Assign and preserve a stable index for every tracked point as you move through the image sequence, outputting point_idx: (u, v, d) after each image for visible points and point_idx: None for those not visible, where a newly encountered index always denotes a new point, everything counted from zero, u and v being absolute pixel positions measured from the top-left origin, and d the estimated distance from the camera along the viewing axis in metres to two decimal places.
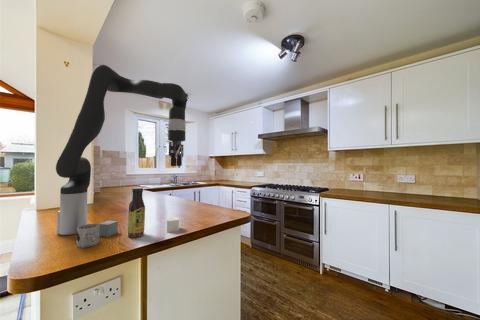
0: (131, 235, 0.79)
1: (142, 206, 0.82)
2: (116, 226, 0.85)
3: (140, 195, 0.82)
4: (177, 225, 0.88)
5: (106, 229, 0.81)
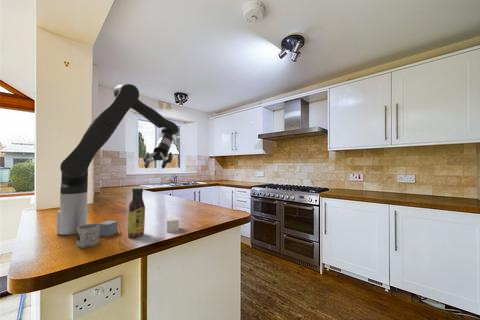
0: (131, 235, 0.79)
1: (142, 206, 0.82)
2: (116, 226, 0.85)
3: (140, 195, 0.82)
4: (177, 225, 0.88)
5: (106, 229, 0.81)
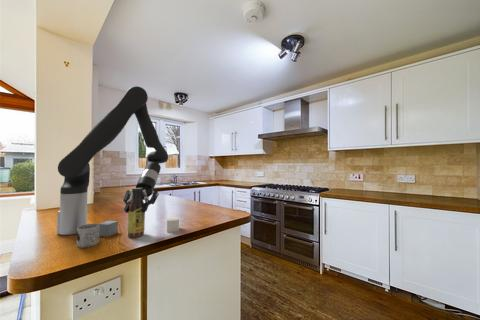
0: (131, 235, 0.79)
1: (142, 206, 0.82)
2: (116, 226, 0.85)
3: (140, 195, 0.82)
4: (177, 225, 0.88)
5: (106, 229, 0.81)
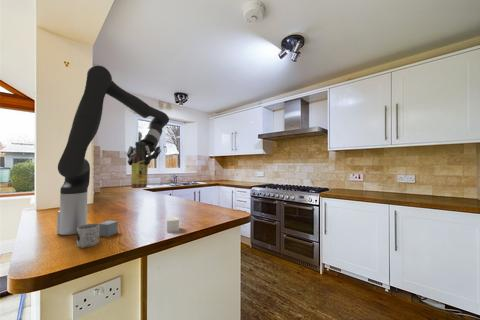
0: (134, 186, 0.82)
1: (145, 159, 0.84)
2: (116, 226, 0.85)
3: (143, 149, 0.85)
4: (177, 225, 0.88)
5: (106, 229, 0.81)
